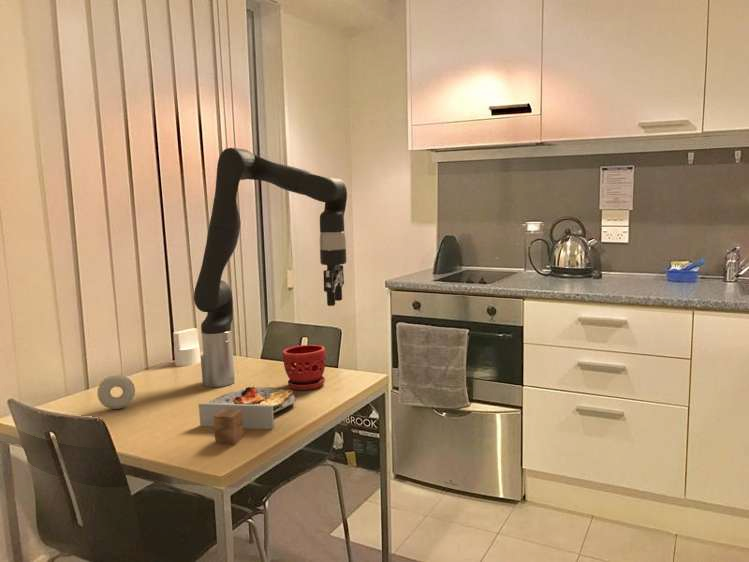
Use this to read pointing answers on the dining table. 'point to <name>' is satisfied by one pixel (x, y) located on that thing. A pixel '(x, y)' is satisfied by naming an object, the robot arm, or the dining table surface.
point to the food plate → (259, 397)
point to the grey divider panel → (250, 414)
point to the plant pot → (305, 366)
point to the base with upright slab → (186, 347)
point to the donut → (116, 401)
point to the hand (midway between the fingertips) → (334, 303)
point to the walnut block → (228, 427)
